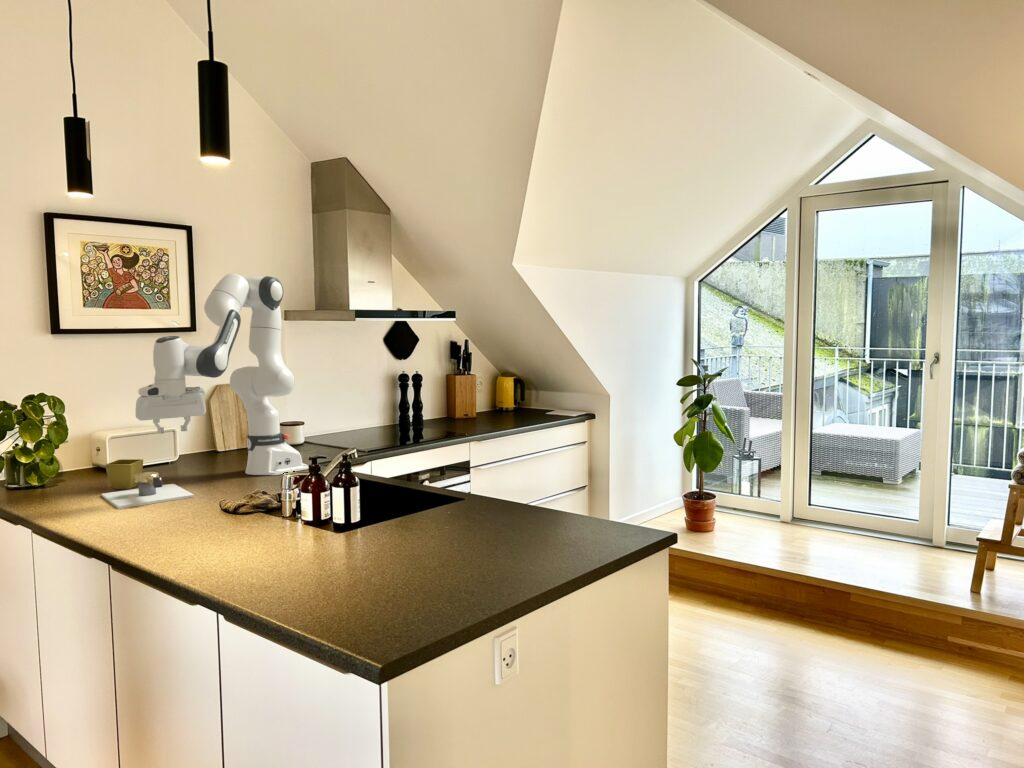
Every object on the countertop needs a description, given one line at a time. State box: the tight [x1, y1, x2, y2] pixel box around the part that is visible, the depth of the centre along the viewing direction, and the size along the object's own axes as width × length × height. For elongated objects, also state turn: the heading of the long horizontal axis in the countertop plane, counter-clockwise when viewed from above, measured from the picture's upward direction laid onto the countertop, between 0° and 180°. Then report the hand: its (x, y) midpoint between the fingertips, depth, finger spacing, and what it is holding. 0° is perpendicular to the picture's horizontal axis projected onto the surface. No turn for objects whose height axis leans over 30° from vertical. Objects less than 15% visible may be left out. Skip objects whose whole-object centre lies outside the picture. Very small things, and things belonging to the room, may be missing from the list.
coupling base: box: [101, 483, 195, 510], centre depth 242 cm, size 22×22×5 cm
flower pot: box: [104, 458, 144, 490], centre depth 255 cm, size 9×9×9 cm
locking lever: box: [134, 471, 164, 488], centre depth 238 cm, size 17×7×3 cm, turn 40°
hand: (172, 432), depth 238 cm, fingers open, 5 cm apart
